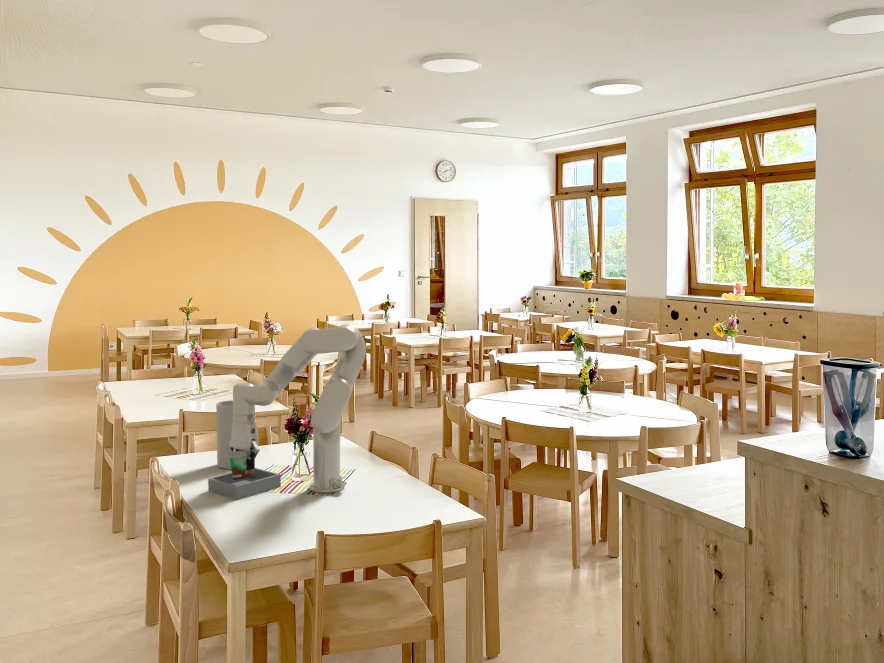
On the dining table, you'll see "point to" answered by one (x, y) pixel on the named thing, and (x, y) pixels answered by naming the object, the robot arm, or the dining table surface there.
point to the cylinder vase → (224, 432)
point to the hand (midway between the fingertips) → (244, 467)
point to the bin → (244, 484)
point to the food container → (240, 465)
